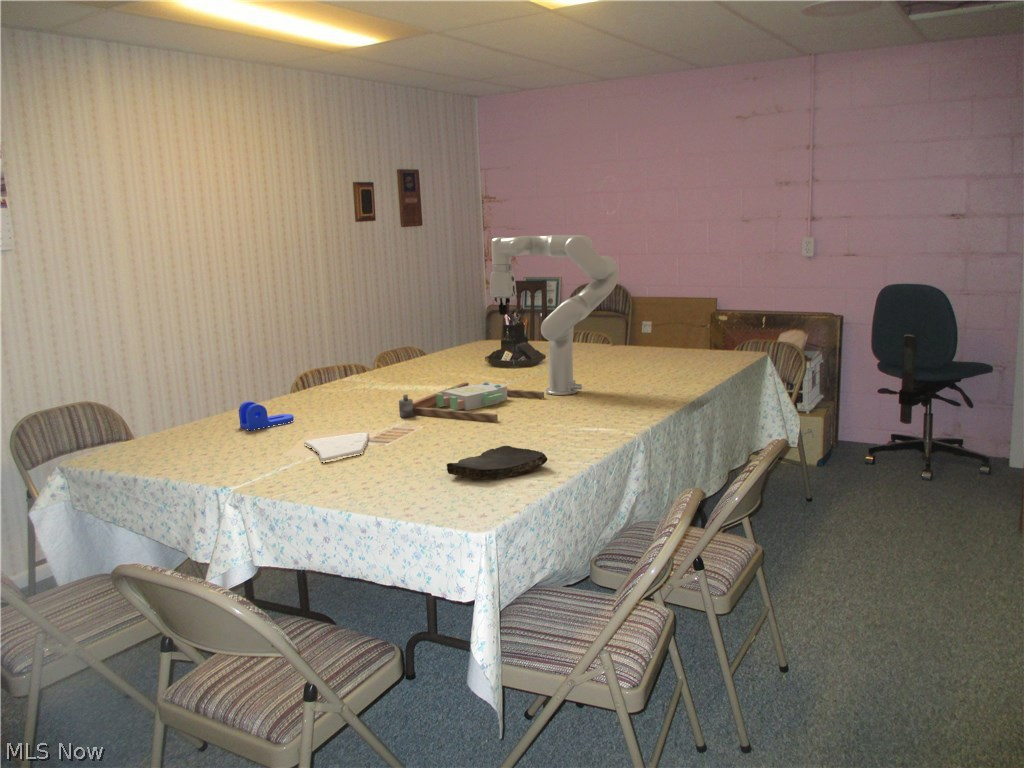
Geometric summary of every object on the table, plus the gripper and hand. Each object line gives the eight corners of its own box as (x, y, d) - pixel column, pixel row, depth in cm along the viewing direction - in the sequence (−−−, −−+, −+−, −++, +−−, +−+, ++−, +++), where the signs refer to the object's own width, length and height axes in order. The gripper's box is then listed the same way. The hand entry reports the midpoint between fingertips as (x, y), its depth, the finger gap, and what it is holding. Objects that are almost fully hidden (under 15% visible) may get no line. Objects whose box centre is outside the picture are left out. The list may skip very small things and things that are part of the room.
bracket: (249, 431, 287) (247, 406, 285) (240, 427, 293) (237, 403, 291) (297, 422, 298) (295, 398, 296) (287, 418, 304) (285, 394, 303)
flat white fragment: (304, 450, 267) (318, 467, 245) (302, 440, 267) (317, 456, 244) (368, 438, 275) (387, 454, 253) (366, 428, 275) (386, 443, 252)
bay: (544, 398, 321) (543, 378, 319) (487, 426, 282) (486, 403, 280) (461, 391, 338) (460, 372, 337) (397, 417, 299) (395, 395, 297)
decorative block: (480, 379, 331) (514, 386, 316) (481, 395, 332) (514, 402, 317) (428, 390, 314) (461, 397, 300) (429, 406, 316) (462, 414, 301)
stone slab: (440, 487, 230) (486, 489, 215) (436, 464, 230) (481, 464, 215) (508, 464, 247) (555, 464, 233) (504, 443, 247) (551, 441, 232)
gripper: (522, 268, 329) (523, 313, 333) (489, 268, 336) (491, 312, 339) (514, 269, 323) (515, 316, 326) (480, 269, 329) (482, 315, 333)
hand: (503, 314), depth 333 cm, fingers closed
